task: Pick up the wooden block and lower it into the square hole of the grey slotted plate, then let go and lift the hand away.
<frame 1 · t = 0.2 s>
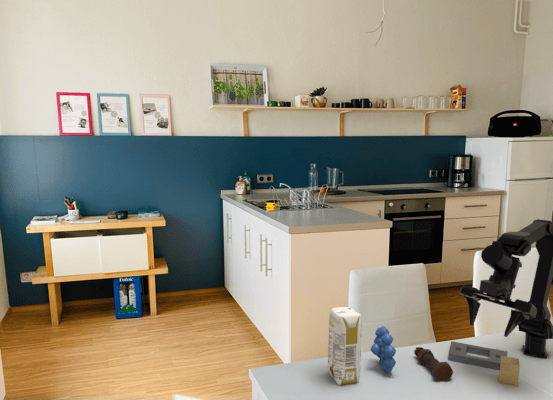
hand: (487, 330, 121), 14 cm above the table, tool tilted 30°, fingers open, 9 cm apart
grey slotted plate: (477, 358, 136), on the table
grapes: (380, 369, 129), on the table
juice carton: (343, 378, 123), on the table
bolt: (430, 369, 130), on the table
wooden block: (508, 381, 123), on the table
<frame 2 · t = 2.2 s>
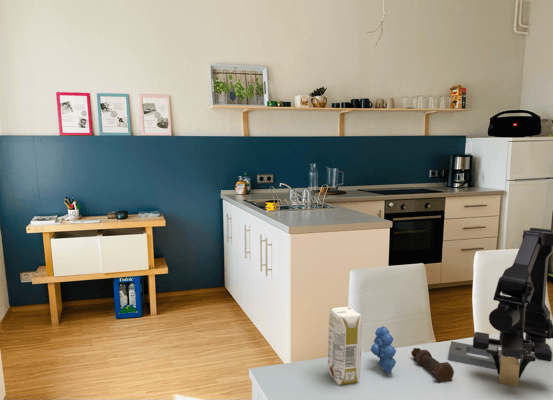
hand: (508, 375, 123), 2 cm above the table, tool pointing down, fingers closed on wooden block, 4 cm apart
wooden block: (508, 381, 123), on the table, touching gripper
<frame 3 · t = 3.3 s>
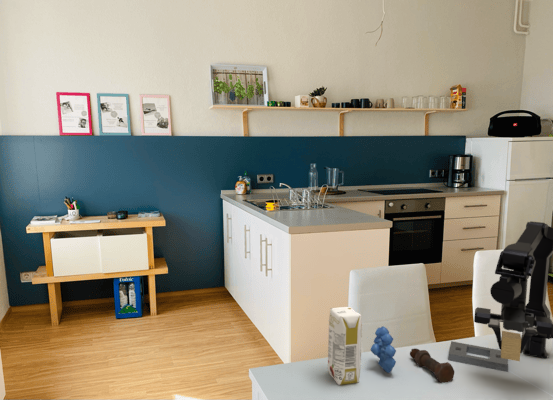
hand: (510, 350, 122), 9 cm above the table, tool pointing down, fingers closed on wooden block, 4 cm apart
wooden block: (509, 356, 122), point 7 cm above the table, touching gripper
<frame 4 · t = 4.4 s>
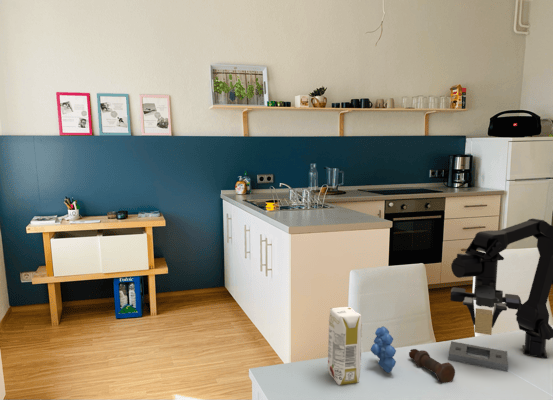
hand: (483, 325, 134), 11 cm above the table, tool pointing down, fingers closed on wooden block, 4 cm apart
wooden block: (482, 331, 134), point 9 cm above the table, touching gripper
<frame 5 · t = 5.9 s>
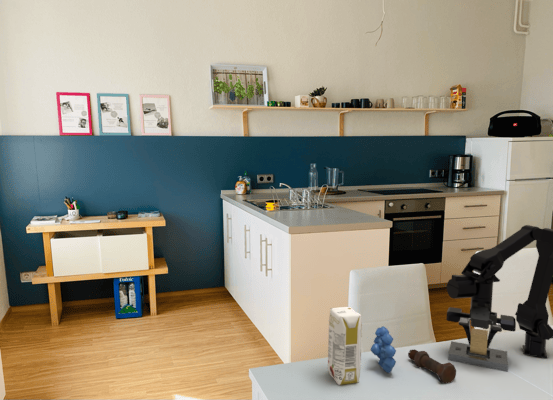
hand: (478, 346, 136), 4 cm above the table, tool pointing down, fingers closed on wooden block, 4 cm apart
wooden block: (478, 350, 136), point 2 cm above the table, touching gripper
when the fingers open (4 cm above the table, at t = 6.9 s): wooden block drops 3 cm, resting in grey slotted plate.
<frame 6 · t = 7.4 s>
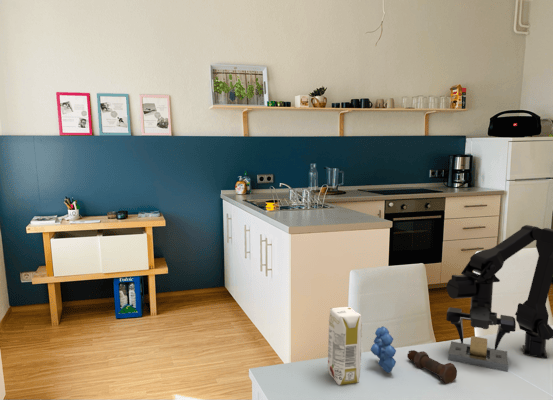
hand: (478, 346, 136), 4 cm above the table, tool pointing down, fingers open, 9 cm apart
wooden block: (477, 359, 136), resting in grey slotted plate
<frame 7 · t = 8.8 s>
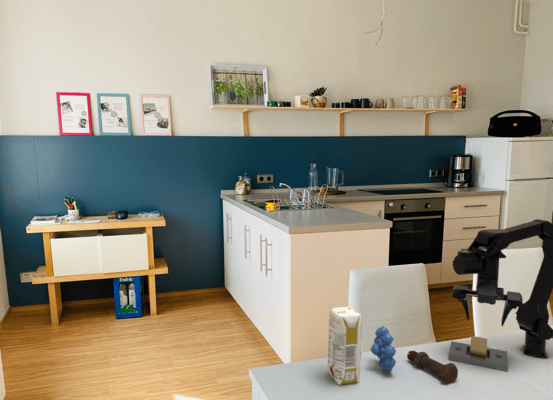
hand: (485, 323, 135), 11 cm above the table, tool pointing down, fingers open, 9 cm apart
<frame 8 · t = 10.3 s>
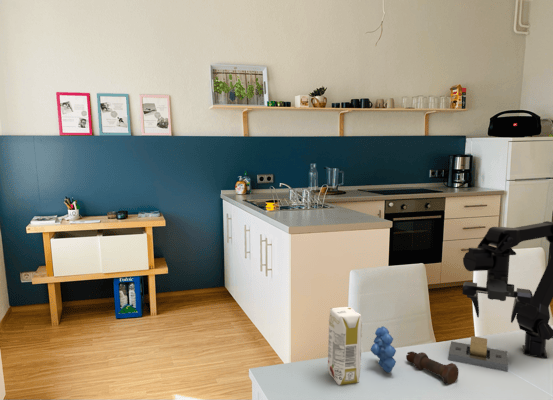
hand: (494, 319, 136), 12 cm above the table, tool pointing down, fingers open, 9 cm apart
at the end: wooden block 0.0 cm off-centre on the grey slotted plate, point 0.0 cm above the grey slotted plate's base; the gripper is holding nothing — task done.
